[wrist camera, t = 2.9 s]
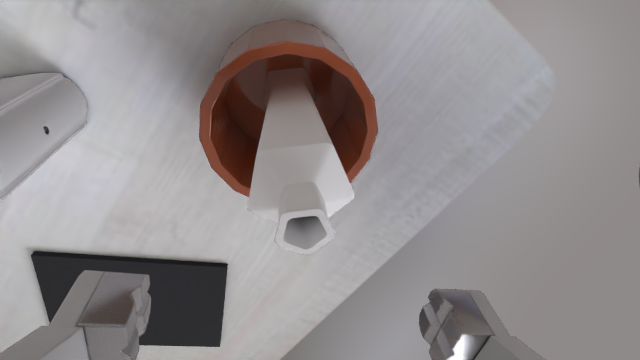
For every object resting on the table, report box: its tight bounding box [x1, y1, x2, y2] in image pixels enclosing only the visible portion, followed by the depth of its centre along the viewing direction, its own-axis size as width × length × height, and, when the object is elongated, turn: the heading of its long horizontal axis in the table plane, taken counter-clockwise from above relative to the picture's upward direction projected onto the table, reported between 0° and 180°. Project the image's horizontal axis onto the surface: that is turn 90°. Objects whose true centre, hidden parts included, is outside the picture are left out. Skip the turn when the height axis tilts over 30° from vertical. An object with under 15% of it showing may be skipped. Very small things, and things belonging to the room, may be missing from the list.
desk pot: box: [199, 19, 378, 197], centre depth 23 cm, size 10×10×7 cm
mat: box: [31, 252, 228, 347], centre depth 35 cm, size 16×12×1 cm
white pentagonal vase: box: [248, 68, 355, 255], centre depth 19 cm, size 5×4×15 cm
